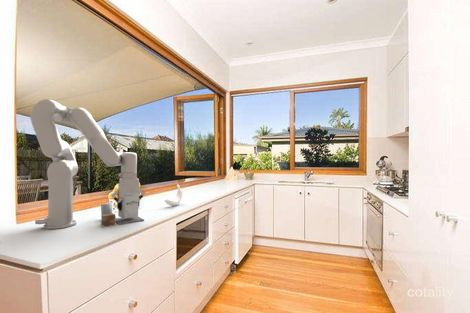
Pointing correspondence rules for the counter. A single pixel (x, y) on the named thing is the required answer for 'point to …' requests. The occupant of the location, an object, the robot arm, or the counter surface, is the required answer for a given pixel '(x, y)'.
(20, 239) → the counter surface
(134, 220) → the charcoal mat
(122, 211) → the supplement box
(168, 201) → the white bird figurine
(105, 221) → the walnut block
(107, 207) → the grey canister
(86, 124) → the robot arm
